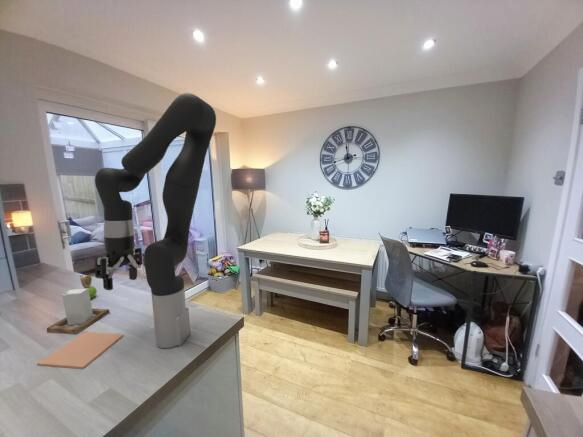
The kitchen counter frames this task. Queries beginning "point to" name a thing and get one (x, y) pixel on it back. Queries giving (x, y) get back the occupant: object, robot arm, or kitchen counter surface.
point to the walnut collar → (60, 328)
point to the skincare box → (77, 306)
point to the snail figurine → (88, 285)
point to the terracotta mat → (81, 350)
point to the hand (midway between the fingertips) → (121, 284)
